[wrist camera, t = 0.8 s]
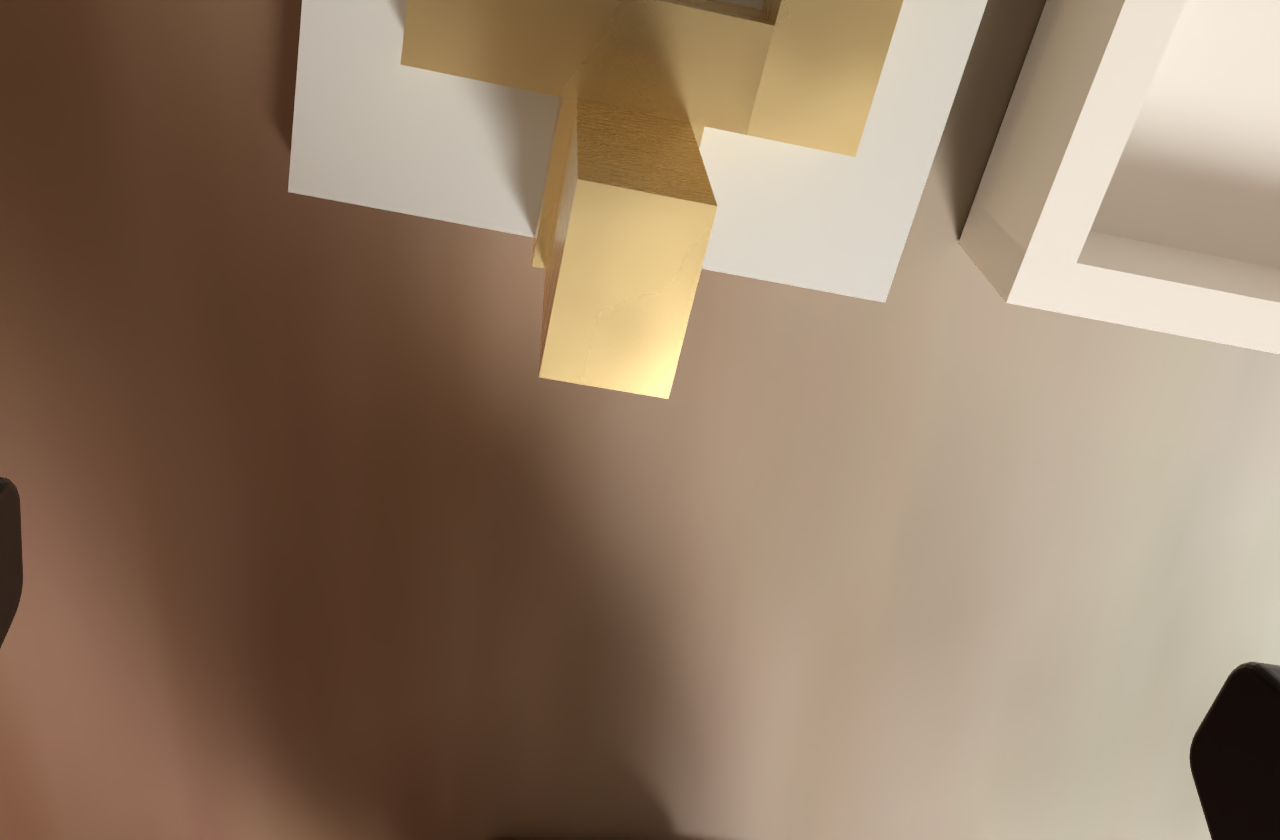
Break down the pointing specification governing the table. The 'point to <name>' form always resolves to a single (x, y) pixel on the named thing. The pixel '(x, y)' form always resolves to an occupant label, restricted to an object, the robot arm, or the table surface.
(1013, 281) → the tray
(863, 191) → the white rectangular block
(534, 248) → the tan notched block
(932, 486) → the table surface
